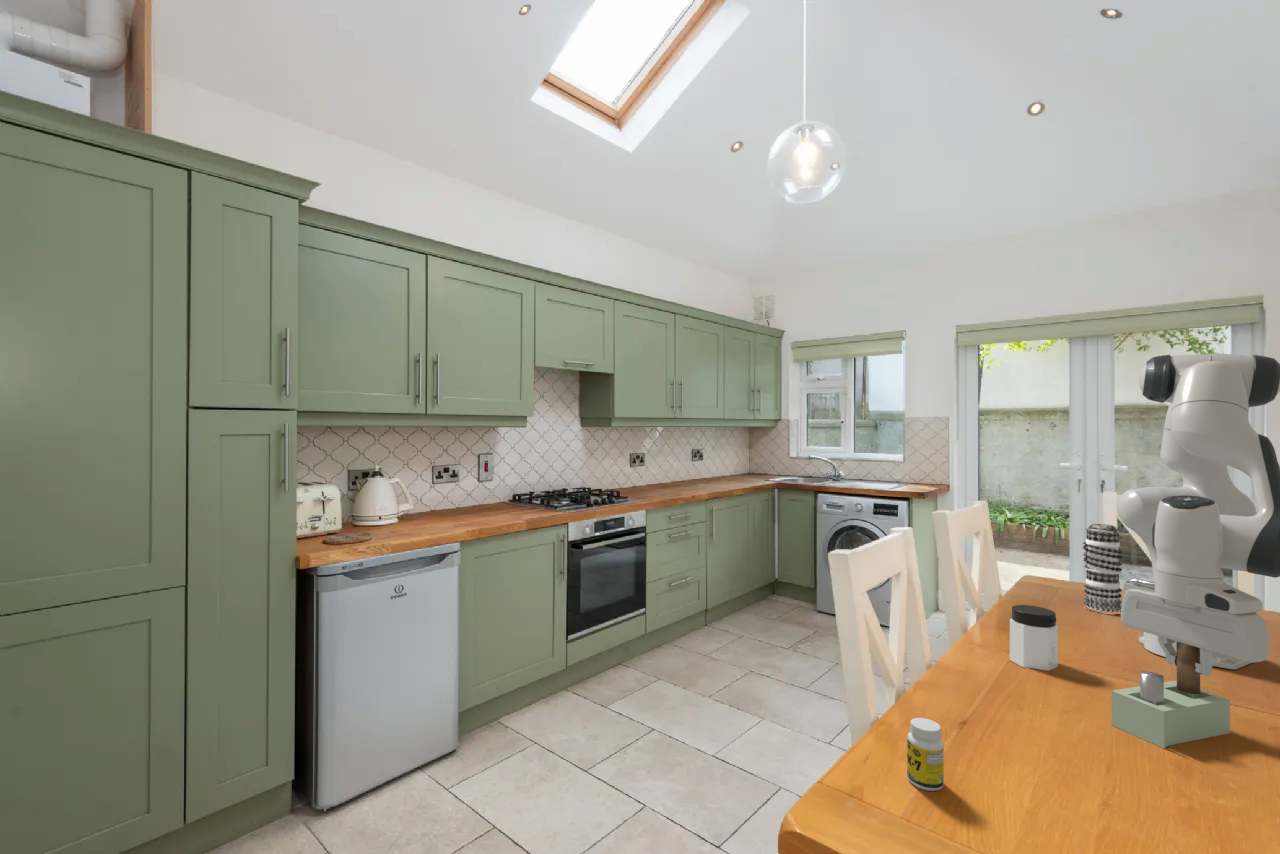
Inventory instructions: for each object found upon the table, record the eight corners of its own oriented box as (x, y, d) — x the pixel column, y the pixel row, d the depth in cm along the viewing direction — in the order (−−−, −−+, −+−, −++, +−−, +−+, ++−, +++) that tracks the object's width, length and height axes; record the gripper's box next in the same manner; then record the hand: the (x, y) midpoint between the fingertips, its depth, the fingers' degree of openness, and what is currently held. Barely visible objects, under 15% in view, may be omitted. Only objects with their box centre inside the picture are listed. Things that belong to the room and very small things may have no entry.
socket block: (1175, 713, 107) (1175, 680, 107) (1230, 735, 100) (1229, 699, 100) (1111, 725, 103) (1111, 690, 103) (1163, 748, 95) (1163, 711, 95)
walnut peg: (1184, 686, 104) (1183, 629, 104) (1204, 693, 101) (1204, 634, 102) (1172, 687, 103) (1172, 630, 104) (1192, 695, 101) (1192, 636, 101)
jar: (1045, 675, 124) (1045, 618, 124) (1004, 662, 131) (1004, 608, 131) (1063, 666, 129) (1063, 611, 129) (1023, 654, 136) (1023, 602, 136)
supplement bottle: (900, 773, 87) (901, 716, 87) (931, 772, 88) (931, 715, 88) (918, 793, 82) (919, 732, 83) (950, 791, 83) (950, 731, 83)
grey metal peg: (1147, 728, 102) (1148, 670, 102) (1167, 736, 99) (1168, 677, 99) (1135, 730, 101) (1136, 672, 101) (1155, 739, 98) (1155, 679, 98)
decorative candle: (1074, 607, 175) (1074, 523, 175) (1099, 605, 177) (1099, 522, 178) (1105, 616, 166) (1105, 527, 167) (1131, 614, 168) (1130, 527, 169)
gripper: (1112, 576, 112) (1112, 650, 111) (1250, 607, 92) (1250, 695, 92) (1135, 575, 114) (1136, 646, 113) (1275, 604, 94) (1276, 691, 94)
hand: (1188, 669), depth 102 cm, fingers closed on walnut peg, 3 cm apart
